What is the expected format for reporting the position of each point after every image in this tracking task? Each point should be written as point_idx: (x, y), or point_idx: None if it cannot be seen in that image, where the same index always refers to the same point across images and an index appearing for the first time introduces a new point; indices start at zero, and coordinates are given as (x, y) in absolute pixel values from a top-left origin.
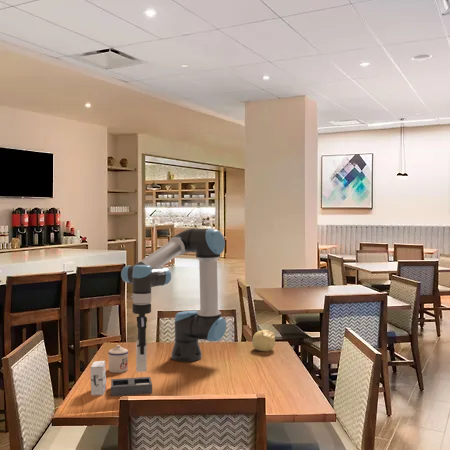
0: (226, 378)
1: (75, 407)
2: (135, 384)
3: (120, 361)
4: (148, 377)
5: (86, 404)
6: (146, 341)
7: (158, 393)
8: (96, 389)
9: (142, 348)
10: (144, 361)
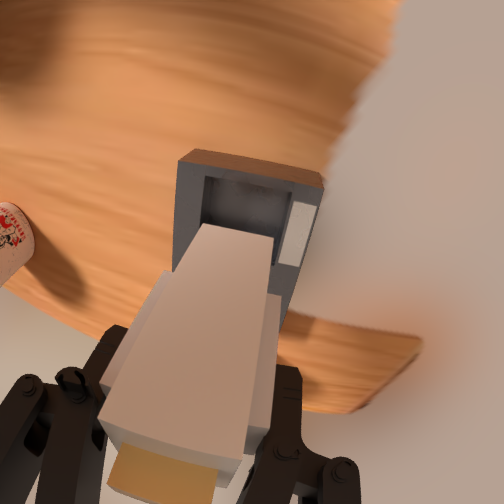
0: None
1: (310, 393)
2: (282, 264)
3: (6, 252)
4: (189, 173)
5: (303, 376)
6: (207, 454)
7: (318, 139)
8: None
9: (289, 428)
10: (279, 305)
